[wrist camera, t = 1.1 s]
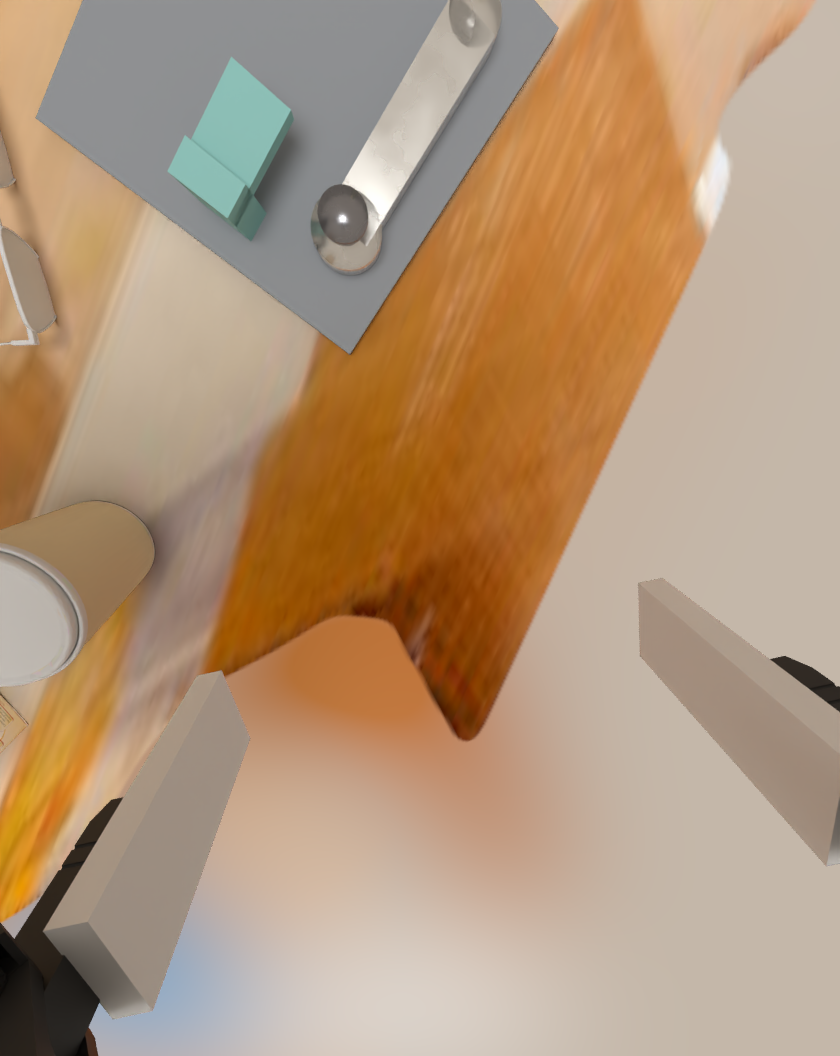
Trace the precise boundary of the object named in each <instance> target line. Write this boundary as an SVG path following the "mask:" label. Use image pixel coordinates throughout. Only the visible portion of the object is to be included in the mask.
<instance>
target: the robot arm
mask: <svg viewBox="0 0 840 1056" xmlns="http://www.w3.org/2000/svg"><path fill="white" fill-rule="evenodd" d="M638 593H639V594H638V595H639V638H640V657H641V658H642V659H643V660H644V661H645V662H646V663H647V665H648V666H649V667H650V668H651V669H652V670H653V671H654V672H655V674H656V675H657V676H658V677H659V678H660V679H661V680H662V681H663V683H664V684H665V685H666V686H667V687H668V688H669V689H670V691H671V692H672V693H673V694H674V695H675V696H676V697H677V698H678V699H679V701H680V702H681V703H682V704H683V705H684V706H685V707H686V708H687V710H688V711H689V712H690V713H691V714H692V715H693V717H694V718H695V719H696V720H697V721H698V722H699V723H700V724H701V725H702V727H703V728H704V729H705V730H706V731H707V732H708V733H709V735H710V736H711V737H712V738H713V739H714V740H715V741H716V742H717V743H718V745H719V746H720V747H721V748H722V749H723V750H724V752H725V753H726V754H727V755H728V756H729V757H730V758H731V759H732V760H733V762H734V763H735V764H736V765H737V766H738V767H739V768H740V769H741V771H742V772H743V773H744V774H745V775H746V776H747V777H748V779H749V780H750V781H751V782H752V783H753V784H754V785H755V787H756V788H757V789H758V790H759V791H760V792H761V793H762V794H763V795H764V797H765V798H766V799H767V800H768V801H769V802H770V803H771V804H772V806H773V807H774V808H775V809H776V810H777V811H778V812H779V814H780V815H781V816H782V817H783V818H784V819H785V820H786V821H787V823H788V824H789V825H790V826H791V827H792V828H793V829H794V831H796V833H797V834H798V835H799V836H800V837H801V838H802V840H803V841H804V842H805V843H806V844H807V845H808V846H809V847H810V848H811V850H812V851H813V852H814V853H815V854H816V855H817V857H818V858H819V859H820V860H821V861H822V862H823V863H824V864H825V866H830V865H835V864H839V863H840V687H839V686H838V687H836V686H835V684H834V683H833V682H832V681H830V680H829V679H828V678H826V677H825V676H823V675H822V674H821V673H819V672H818V671H816V670H815V669H813V668H812V667H810V666H807V665H805V664H803V663H800V662H798V661H795V660H793V659H791V658H789V657H786V656H782V657H778V658H773V659H769V658H767V657H766V656H765V655H763V654H762V653H761V652H760V651H758V650H757V649H755V648H754V647H753V646H752V645H750V644H749V643H747V642H746V641H745V640H744V639H742V638H741V637H740V636H738V635H737V634H736V633H734V632H733V631H732V630H730V629H729V628H728V627H726V626H725V625H724V624H723V623H721V622H720V621H719V620H717V619H716V618H715V617H713V616H712V615H711V614H709V613H708V612H707V611H705V610H704V609H702V608H701V607H700V606H699V605H697V604H696V603H695V602H694V601H692V600H691V599H690V598H688V597H687V596H686V595H684V594H683V593H682V592H680V591H679V590H678V589H676V588H675V587H674V586H672V585H671V584H670V583H668V582H667V581H665V579H663V578H660V579H654V580H650V581H646V582H640V583H638ZM249 741H250V736H249V734H248V732H247V729H246V727H245V725H244V722H243V720H242V717H241V715H240V713H239V710H238V708H237V706H236V703H235V701H234V699H233V696H232V694H231V692H230V689H229V687H228V684H227V682H226V680H225V677H224V675H223V673H222V670H221V671H217V672H212V673H207V674H202V675H198V676H197V677H196V678H195V680H194V682H193V683H192V685H191V687H190V688H189V690H188V692H187V693H186V695H185V696H184V698H183V700H182V701H181V703H180V705H179V706H178V708H177V710H176V711H175V713H174V715H173V716H172V718H171V720H170V721H169V723H168V725H167V726H166V728H165V730H164V731H163V733H162V735H161V736H160V738H159V740H158V741H157V743H156V745H155V746H154V748H153V750H152V751H151V753H150V754H149V756H148V758H147V760H146V761H145V763H144V765H143V766H142V768H141V769H140V771H139V773H138V775H137V776H136V778H135V779H134V781H133V783H132V784H131V786H130V788H129V789H128V791H127V793H126V794H125V796H124V797H123V798H118V799H113V800H111V801H110V802H109V803H108V804H107V805H106V806H105V807H104V808H103V809H102V810H101V811H100V812H99V813H98V814H97V815H96V816H95V817H94V818H93V819H92V820H91V821H90V823H89V824H88V826H87V827H86V829H85V830H84V832H83V833H82V835H81V837H80V838H79V840H78V841H77V843H76V844H75V849H74V850H72V851H71V852H70V854H69V855H68V857H67V858H66V860H65V861H64V863H63V865H62V869H61V870H59V871H58V872H57V874H56V875H55V877H54V878H53V880H52V882H51V883H50V885H49V886H48V888H47V889H46V891H45V892H44V894H43V896H42V897H41V899H40V900H39V902H38V903H37V905H36V906H35V908H34V909H33V911H32V913H31V914H30V916H29V917H28V919H27V921H26V922H25V924H24V925H23V927H22V928H21V930H20V931H19V933H18V934H17V936H16V937H15V939H14V938H13V937H12V936H11V935H10V934H9V932H8V931H7V930H6V929H5V928H4V926H3V925H2V924H1V923H0V1056H98V1052H97V1047H96V1041H95V1037H94V1036H93V1034H92V1032H91V1030H90V1029H89V1024H90V1022H91V1020H92V1018H93V1016H94V1013H95V1011H96V1009H97V1007H98V1004H99V1003H100V1004H101V1005H102V1006H103V1008H104V1009H105V1010H106V1011H107V1012H108V1014H109V1015H110V1016H111V1017H112V1019H117V1018H122V1017H126V1016H131V1015H136V1014H140V1013H145V1012H150V1011H152V1010H153V1008H154V1005H155V1003H156V1000H157V997H158V994H159V991H160V989H161V986H162V983H163V980H164V978H165V975H166V972H167V969H168V967H169V964H170V961H171V958H172V955H173V953H174V950H175V947H176V944H177V941H178V939H179V936H180V933H181V930H182V928H183V925H184V922H185V919H186V916H187V914H188V911H189V908H190V905H191V902H192V900H193V896H194V894H195V891H196V888H197V886H198V883H199V880H200V877H201V875H202V872H203V869H204V866H205V863H206V860H207V858H208V855H209V852H210V849H211V847H212V844H213V841H214V838H215V835H216V833H217V830H218V827H219V824H220V821H221V819H222V816H223V813H224V810H225V808H226V805H227V802H228V799H229V796H230V794H231V791H232V788H233V785H234V782H235V780H236V777H237V774H238V771H239V768H240V766H241V762H242V760H243V757H244V754H245V752H246V749H247V746H248V743H249Z"/></svg>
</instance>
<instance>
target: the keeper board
mask: <svg viewBox="0 0 840 1056" xmlns="http://www.w3.org/2000/svg"><path fill="white" fill-rule="evenodd" d="M500 1H501V7H502V18H501V24H500V27H499V30H498V33H497V36H496V38H495V41H494V44H493V47H492V50H491V52H490V55H489V57H488V58H487V60H486V62H485V63H484V65H483V66H482V68H481V70H480V71H479V73H478V75H477V76H476V78H475V79H474V81H473V83H472V84H471V86H470V88H469V89H468V91H467V92H466V94H465V96H464V97H463V99H462V101H461V102H460V104H459V105H458V107H457V109H456V110H455V112H454V114H453V115H452V117H451V118H450V120H449V122H448V123H447V125H446V127H445V128H444V130H443V131H442V133H441V135H440V136H439V138H438V140H437V141H436V143H435V144H434V146H433V148H432V149H431V151H430V153H429V154H428V156H427V157H426V159H425V161H424V162H423V164H422V166H421V167H420V169H419V170H418V172H417V174H416V175H415V177H414V179H413V180H412V182H411V183H410V185H409V187H408V188H407V190H406V192H405V193H404V195H403V196H402V198H401V200H400V201H399V203H398V205H397V206H396V208H395V209H394V211H393V213H392V214H391V216H390V218H389V219H388V221H387V222H386V224H385V226H384V227H383V229H382V243H381V249H380V253H379V256H378V258H377V260H376V261H375V263H374V264H373V265H372V266H371V267H370V268H369V269H368V270H367V271H365V272H363V273H361V274H358V275H343V274H340V273H338V272H336V271H334V270H332V269H331V268H330V267H329V266H328V265H327V264H326V263H325V262H324V261H323V259H322V258H321V256H320V254H319V252H318V250H317V249H316V247H315V245H314V242H313V239H312V235H311V225H310V223H311V216H312V212H313V209H314V207H315V205H316V203H317V201H318V200H319V199H320V198H321V196H322V194H323V193H324V192H325V191H326V190H327V189H328V188H330V187H331V186H334V185H338V184H342V183H343V181H344V180H345V178H346V176H347V175H348V173H349V171H350V169H351V168H352V166H353V164H354V162H355V161H356V159H357V157H358V156H359V154H360V152H361V150H362V149H363V147H364V145H365V143H366V142H367V140H368V138H369V137H370V135H371V133H372V131H373V130H374V128H375V126H376V124H377V123H378V121H379V119H380V118H381V116H382V114H383V112H384V111H385V109H386V107H387V105H388V104H389V102H390V100H391V99H392V97H393V95H394V93H395V92H396V90H397V88H398V86H399V85H400V83H401V81H402V80H403V78H404V76H405V74H406V73H407V71H408V69H409V67H410V66H411V64H412V62H413V61H414V59H415V57H416V55H417V54H418V52H419V50H420V48H421V47H422V45H423V43H424V42H425V40H426V38H427V36H428V35H429V33H430V31H431V29H432V28H433V26H434V24H435V23H436V21H437V19H438V17H439V16H440V14H441V12H442V10H443V9H444V7H445V5H446V4H447V2H448V0H83V1H82V4H81V6H80V9H79V11H78V14H77V16H76V19H75V21H74V24H73V26H72V29H71V31H70V34H69V36H68V39H67V41H66V44H65V46H64V49H63V51H62V54H61V56H60V58H59V61H58V63H57V66H56V68H55V71H54V73H53V76H52V78H51V81H50V83H49V86H48V88H47V91H46V93H45V96H44V98H43V101H42V103H41V106H40V108H39V111H38V113H37V116H36V119H38V120H39V121H40V122H42V123H43V124H44V125H46V126H47V127H48V128H49V129H51V130H52V131H53V132H55V133H56V134H57V135H59V136H60V137H61V138H63V139H64V140H65V141H67V142H68V143H69V144H71V145H72V146H73V147H75V148H76V149H77V150H79V151H80V152H81V153H83V154H84V155H85V156H87V157H88V158H89V159H91V160H92V161H93V162H95V163H96V164H97V165H99V166H100V167H101V168H103V169H104V170H105V171H107V172H108V173H109V174H111V175H112V176H113V177H115V178H116V179H117V180H119V181H120V182H121V183H123V184H124V185H125V186H127V187H128V188H129V189H131V190H132V191H133V192H135V193H136V194H137V195H139V196H140V197H141V198H142V199H144V200H145V201H146V202H148V203H149V204H150V205H152V206H153V207H154V208H156V209H157V210H158V211H160V212H161V213H162V214H164V215H165V216H166V217H168V218H169V219H170V220H172V221H173V222H174V223H176V224H177V225H178V226H180V227H181V228H182V229H184V230H185V231H186V232H188V233H189V234H190V235H192V236H193V237H194V238H196V239H197V240H198V241H200V242H201V243H202V244H204V245H205V246H206V247H208V248H209V249H210V250H212V251H213V252H214V253H216V254H217V255H218V256H220V257H221V258H222V259H224V260H225V261H226V262H228V263H229V264H230V265H232V266H233V267H234V268H236V269H237V270H238V271H239V272H241V273H242V274H243V275H245V276H246V277H247V278H249V279H250V280H251V281H253V282H254V283H255V284H257V285H258V286H259V287H261V288H262V289H263V290H265V291H266V292H267V293H269V294H270V295H271V296H273V297H274V298H275V299H277V300H278V301H279V302H281V303H282V304H283V305H285V306H286V307H287V308H289V309H290V310H291V311H293V312H294V313H295V314H297V315H298V316H299V317H301V318H302V319H303V320H305V321H306V322H307V323H309V324H310V325H311V326H313V327H314V328H315V329H317V330H318V331H319V332H321V333H322V334H323V335H325V336H326V337H327V338H329V339H330V340H331V341H333V342H334V343H335V344H336V345H338V346H339V347H340V348H342V349H343V350H344V351H346V352H347V353H348V354H351V353H352V351H353V350H354V348H355V347H356V345H357V343H358V342H359V340H360V339H361V337H362V336H363V334H364V333H365V331H366V329H367V328H368V326H369V325H370V323H371V322H372V320H373V319H374V317H375V315H376V314H377V312H378V311H379V309H380V308H381V306H382V305H383V303H384V301H385V300H386V298H387V297H388V295H389V294H390V292H391V291H392V289H393V287H394V286H395V284H396V283H397V281H398V280H399V278H400V276H401V275H402V273H403V272H404V270H405V269H406V267H407V266H408V264H409V262H410V261H411V259H412V258H413V256H414V255H415V253H416V252H417V250H418V248H419V247H420V245H421V244H422V242H423V241H424V239H425V238H426V236H427V234H428V233H429V231H430V230H431V228H432V227H433V225H434V224H435V222H436V220H437V219H438V217H439V216H440V214H441V213H442V211H443V210H444V208H445V206H446V205H447V203H448V202H449V200H450V199H451V197H452V195H453V194H454V192H455V191H456V189H457V188H458V186H459V185H460V183H461V181H462V180H463V178H464V177H465V175H466V174H467V172H468V171H469V169H470V167H471V166H472V164H473V163H474V161H475V160H476V158H477V157H478V155H479V153H480V152H481V150H482V149H483V147H484V146H485V144H486V143H487V141H488V139H489V138H490V136H491V135H492V133H493V132H494V130H495V129H496V127H497V125H498V124H499V122H500V121H501V119H502V118H503V116H504V114H505V113H506V111H507V110H508V108H509V107H510V105H511V104H512V102H513V100H514V99H515V97H516V96H517V94H518V93H519V91H520V90H521V88H522V86H523V85H524V83H525V82H526V80H527V79H528V77H529V76H530V74H531V72H532V71H533V69H534V68H535V66H536V65H537V63H538V62H539V60H540V58H541V57H542V55H543V54H544V52H545V51H546V49H547V48H548V46H549V44H550V43H551V41H552V40H553V38H554V36H555V34H556V32H557V31H558V29H559V28H558V27H557V26H556V24H555V23H554V22H553V21H552V20H551V19H550V17H549V16H548V15H547V14H546V13H545V12H544V11H543V9H542V8H541V7H540V6H539V5H538V4H537V2H536V1H535V0H500Z"/></svg>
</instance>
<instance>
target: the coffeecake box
mask: <svg viewBox="0 0 840 1056" xmlns="http://www.w3.org/2000/svg"><path fill="white" fill-rule="evenodd" d="M27 726H28V724H27V723H26V721H25V720H24V719H23V718H22V717H21V716H20V715H19V714H18V712H17V711H16V710H15V709H14V708H13V707H12V706H11V705H10V704H9V703H7V702H6V701H5V700H4V699H3V697H2V696H1V695H0V753H1V752H2V751H3V750H4V749H5V748H6V747H7V746H8V745H9V744H10V743H11V742H12V741H13V740H14V739H15V738H16V737H17V736H18V735H19V733H20V732H21V731H22V730H23V729H24V728H25V727H27Z"/></svg>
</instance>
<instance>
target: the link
mask: <svg viewBox="0 0 840 1056" xmlns="http://www.w3.org/2000/svg"><path fill="white" fill-rule="evenodd" d="M501 18H502V7H501V1H500V0H448V2H447V4H446V5H445V7H444V9H443V10H442V12H441V14H440V16H439V17H438V19H437V21H436V23H435V24H434V26H433V28H432V29H431V31H430V33H429V35H428V36H427V38H426V40H425V42H424V43H423V45H422V47H421V48H420V50H419V52H418V54H417V55H416V57H415V59H414V61H413V62H412V64H411V66H410V67H409V69H408V71H407V73H406V74H405V76H404V78H403V80H402V81H401V83H400V85H399V86H398V88H397V90H396V92H395V93H394V95H393V97H392V99H391V100H390V102H389V104H388V105H387V107H386V109H385V111H384V112H383V114H382V116H381V118H380V119H379V121H378V123H377V124H376V126H375V128H374V130H373V131H372V133H371V135H370V137H369V138H368V140H367V142H366V143H365V145H364V147H363V149H362V150H361V152H360V154H359V156H358V157H357V159H356V161H355V162H354V164H353V166H352V168H351V169H350V171H349V173H348V175H347V176H346V178H345V180H344V181H343V183H342V184H338V185H334V186H331V187H330V188H328V189H327V190H326V191H325V192H324V193H323V194H322V196H321V198H320V199H319V200H318V201H317V203H316V205H315V207H314V209H313V212H312V216H311V223H310V225H311V235H312V239H313V242H314V245H315V247H316V249H317V250H318V252H319V254H320V256H321V258H322V259H323V261H324V262H325V263H326V264H327V265H328V266H329V267H330V268H331V269H332V270H334V271H336V272H338V273H340V274H343V275H358V274H361V273H363V272H365V271H367V270H368V269H369V268H370V267H371V266H372V265H373V264H374V263H375V261H376V260H377V258H378V256H379V253H380V249H381V243H382V229H383V227H384V226H385V224H386V222H387V221H388V219H389V218H390V216H391V214H392V213H393V211H394V209H395V208H396V206H397V205H398V203H399V201H400V200H401V198H402V196H403V195H404V193H405V192H406V190H407V188H408V187H409V185H410V183H411V182H412V180H413V179H414V177H415V175H416V174H417V172H418V170H419V169H420V167H421V166H422V164H423V162H424V161H425V159H426V157H427V156H428V154H429V153H430V151H431V149H432V148H433V146H434V144H435V143H436V141H437V140H438V138H439V136H440V135H441V133H442V131H443V130H444V128H445V127H446V125H447V123H448V122H449V120H450V118H451V117H452V115H453V114H454V112H455V110H456V109H457V107H458V105H459V104H460V102H461V101H462V99H463V97H464V96H465V94H466V92H467V91H468V89H469V88H470V86H471V84H472V83H473V81H474V79H475V78H476V76H477V75H478V73H479V71H480V70H481V68H482V66H483V65H484V63H485V62H486V60H487V58H488V57H489V55H490V52H491V50H492V47H493V44H494V41H495V38H496V36H497V33H498V30H499V27H500V24H501Z"/></svg>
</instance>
